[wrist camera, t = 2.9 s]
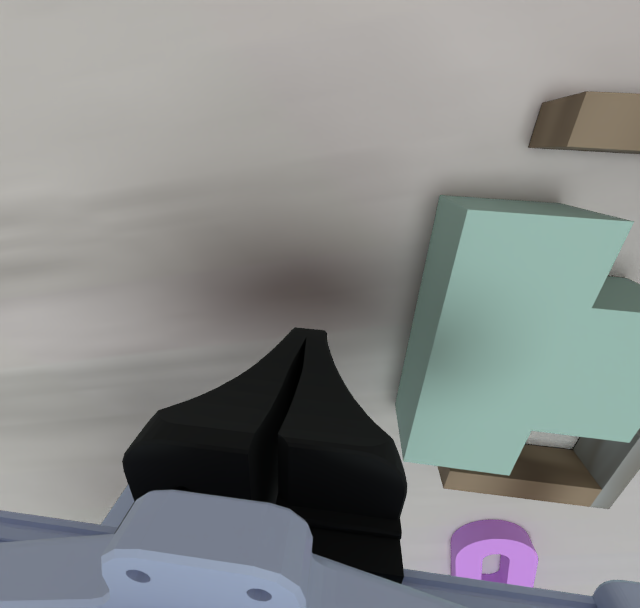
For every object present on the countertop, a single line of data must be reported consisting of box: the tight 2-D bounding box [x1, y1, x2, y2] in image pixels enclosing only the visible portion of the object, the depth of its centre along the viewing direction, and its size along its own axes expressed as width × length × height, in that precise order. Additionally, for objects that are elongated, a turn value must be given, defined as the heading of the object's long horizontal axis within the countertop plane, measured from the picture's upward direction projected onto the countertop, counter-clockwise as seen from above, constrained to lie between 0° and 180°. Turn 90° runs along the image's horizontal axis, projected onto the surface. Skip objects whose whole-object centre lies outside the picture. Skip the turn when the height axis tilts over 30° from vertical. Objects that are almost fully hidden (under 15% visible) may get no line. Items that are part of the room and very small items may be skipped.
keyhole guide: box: [438, 91, 640, 509], centre depth 14 cm, size 13×19×2 cm
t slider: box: [395, 195, 640, 476], centre depth 14 cm, size 9×12×4 cm
